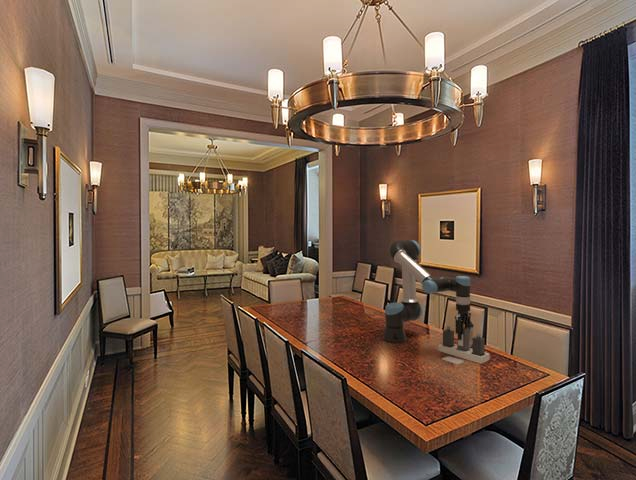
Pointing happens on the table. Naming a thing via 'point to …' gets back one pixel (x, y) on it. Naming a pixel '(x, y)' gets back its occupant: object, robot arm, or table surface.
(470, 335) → the coffee cup
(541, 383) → the table surface
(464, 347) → the plug
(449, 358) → the mat
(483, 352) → the strip
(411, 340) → the table surface
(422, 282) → the robot arm
